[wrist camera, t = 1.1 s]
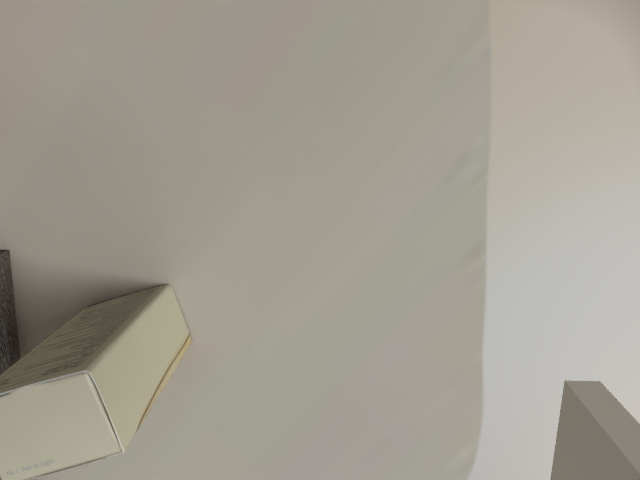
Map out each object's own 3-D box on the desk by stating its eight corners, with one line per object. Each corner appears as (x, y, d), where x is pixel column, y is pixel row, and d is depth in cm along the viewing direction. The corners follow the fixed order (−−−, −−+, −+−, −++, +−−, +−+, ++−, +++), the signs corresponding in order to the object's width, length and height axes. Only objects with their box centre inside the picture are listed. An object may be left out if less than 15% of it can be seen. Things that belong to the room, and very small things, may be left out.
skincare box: (108, 364, 36) (-3, 492, 24) (82, 304, 35) (-48, 407, 23) (197, 340, 35) (126, 459, 24) (172, 278, 34) (86, 369, 23)
